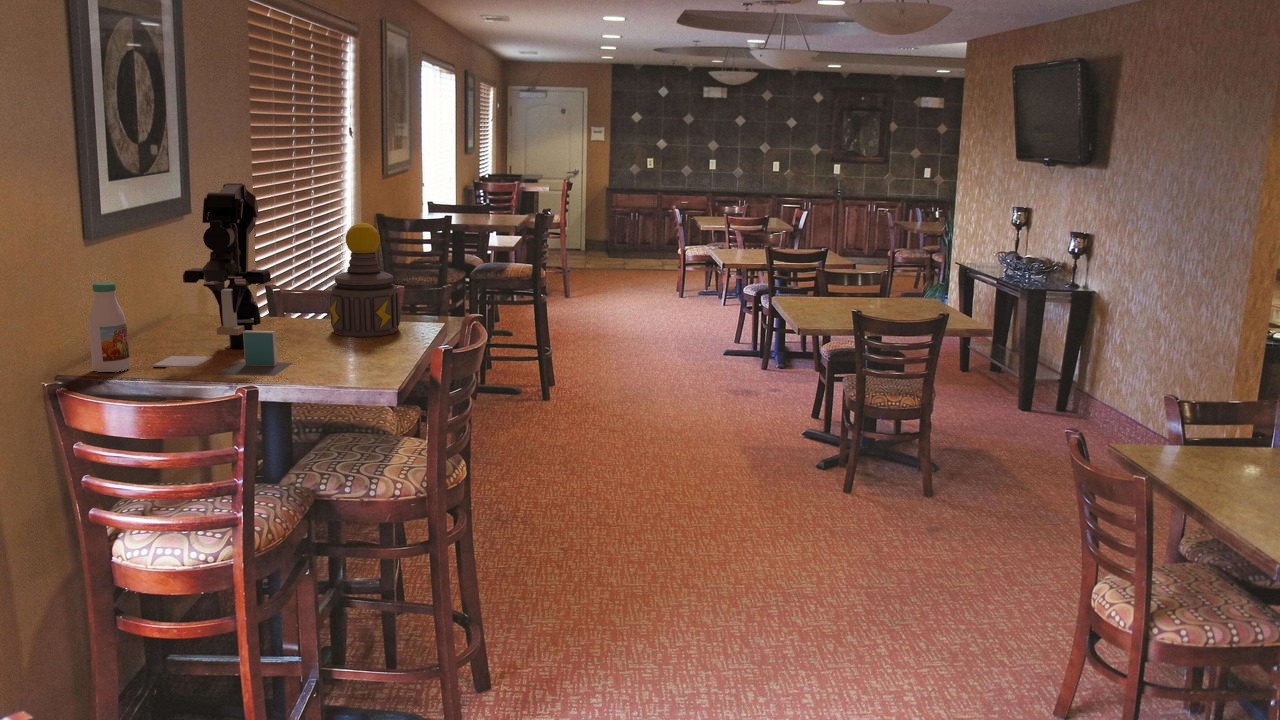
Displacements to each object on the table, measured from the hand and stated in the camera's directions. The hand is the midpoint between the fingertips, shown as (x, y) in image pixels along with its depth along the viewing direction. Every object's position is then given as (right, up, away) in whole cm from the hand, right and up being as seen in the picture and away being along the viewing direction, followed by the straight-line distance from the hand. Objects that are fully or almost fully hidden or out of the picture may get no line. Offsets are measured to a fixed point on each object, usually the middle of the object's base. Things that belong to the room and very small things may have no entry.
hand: (229, 312), depth 245 cm
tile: (+9, -12, -3) cm, 16 cm away
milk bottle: (-23, -14, -9) cm, 28 cm away
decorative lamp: (+22, -4, +41) cm, 46 cm away
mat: (+9, -14, -7) cm, 18 cm away
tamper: (0, -5, +1) cm, 5 cm away
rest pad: (-10, -12, -1) cm, 16 cm away
